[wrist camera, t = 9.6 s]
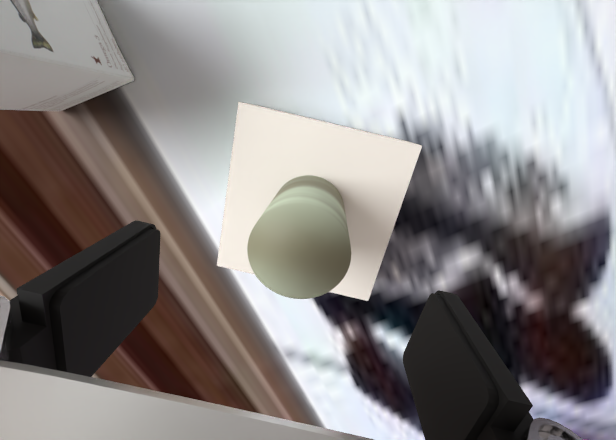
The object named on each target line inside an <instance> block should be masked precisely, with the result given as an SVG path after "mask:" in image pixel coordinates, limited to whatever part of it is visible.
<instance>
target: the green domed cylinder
mask: <svg viewBox="0 0 616 440" xmlns="http://www.w3.org/2000/svg"><path fill="white" fill-rule="evenodd" d="M247 253H248V259H249V263H250V266H251V268H252V270H253V272H254V274H255V275H256V277H257V278H258V279H259V280H260V281H261V282H262V283H263V284H264V285H265V286H266V287H267V288H269V289H270V290H272V291H274V292H275V293H277V294H280V295H282V296H285V297H289V298H295V299H308V298H314V297H318V296H321V295H323V294H325V293H327V292H329V291H331V290H332V289H333V288H335V287H336V286H337V285H338V284H339V283H340V282H341V281H342V279H343V278H344V277H345V275H346V273H347V271H348V269H349V266H350V262H351V245H350V238H349V232H348V226H347V220H346V213H345V207H344V202H343V199H342V196H341V194H340V192H339V191H338V190H337V188H336V187H335V186H334V185H333V184H332V183H330V182H329V181H327V180H326V179H323V178H321V177H318V176H313V175H305V176H299V177H296V178H293V179H291V180H289V181H288V182H287V183H285V184H284V185H283V186H282V187H281V189H280V190H279V191H278V193H277V194H276V196H275V197H274V198H273V200H272V201H271V203H270V204H269V206H268V207H267V208H266V210H265V211H264V213H263V214H262V216H261V217H260V218H259V220H258V221H257V223H256V224H255V226H254V227H253V229H252V231H251V233H250V236H249V240H248V246H247Z"/></svg>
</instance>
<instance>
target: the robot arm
mask: <svg viewBox="0 0 616 440" xmlns="http://www.w3.org/2000/svg"><path fill="white" fill-rule="evenodd" d="M159 254H160V231H159V230H156V227H155V225H153V224H149V223H145V222H140V221H133V222H132V223H130V224H128V225H126V226H125V227H123V228H121V229H119V230H118V231H116V232H114V233H113V234H111V235H109V236H107V237H106V238H104V239H102V240H100V241H99V242H97V243H95V244H93V245H92V246H90V247H88V248H86V249H85V250H83V251H81V252H80V253H78V254H76V255H74V256H73V257H71V258H69V259H67V260H66V261H64V262H62V263H60V264H59V265H57V266H55V267H53V268H52V269H50V270H48V271H46V272H45V273H43V274H41V275H40V276H38V277H36V278H34V279H33V280H31V281H29V282H27V283H26V284H24V285H22V286H20V287H19V288H17V294H18V296H16V297H15V298H13V299H11V300H10V301H9V300H8V299H6V298H5V297H3V296H0V440H373V439H369V438H365V437H360V436H356V435H352V434H347V433H343V432H339V431H334V430H330V429H325V428H321V427H316V426H312V425H308V424H303V423H299V422H294V421H290V420H285V419H281V418H276V417H272V416H267V415H263V414H258V413H254V412H249V411H245V410H240V409H236V408H231V407H227V406H222V405H218V404H213V403H209V402H204V401H200V400H195V399H190V398H186V397H181V396H177V395H172V394H167V393H163V392H158V391H153V390H149V389H144V388H140V387H135V386H130V385H126V384H121V383H117V382H112V381H107V380H103V379H98V378H93V377H91V376H92V375H93V374H94V373H95V372H96V371H97V370H98V368H99V367H100V366H101V365H102V364H103V363H104V362H105V361H106V359H107V358H108V357H109V356H110V355H111V354H112V353H113V352H114V350H115V349H116V348H117V347H118V346H119V345H120V344H121V343H122V341H123V340H124V339H125V338H126V337H127V336H128V335H129V334H130V332H131V331H132V330H133V329H134V328H135V327H136V326H137V325H138V323H139V322H140V321H141V320H142V319H143V318H144V317H145V316H146V314H147V313H148V312H149V311H150V310H151V309H152V308H153V306H154V305H155V303H156V301H157V298H158V279H159ZM403 364H404V367H405V371H406V374H407V378H408V381H409V385H410V388H411V391H412V395H413V398H414V402H415V405H416V409H417V412H418V416H419V419H420V423H421V426H422V430H423V433H424V436H425V440H583V439H581V438H580V437H579V436H577V435H576V434H575V433H573V432H572V431H571V430H569V429H568V428H566V427H564V426H563V425H561V424H559V423H557V422H554V421H552V420H549V419H545V418H537V419H533V418H532V416H531V415H530V413H529V410H530V409H531V408H532V406H533V405H532V404H531V402H530V401H529V399H528V398H527V396H526V395H525V393H524V392H523V390H522V389H521V387H520V386H519V385H518V383H517V382H516V380H515V379H514V377H513V376H512V374H511V373H510V371H509V370H508V368H507V367H506V366H505V364H504V363H503V361H502V360H501V358H500V357H499V355H498V354H497V352H496V351H495V349H494V348H493V347H492V345H491V344H490V342H489V341H488V339H487V338H486V336H485V335H484V333H483V332H482V330H481V329H480V328H479V326H478V325H477V323H476V322H475V320H474V319H473V317H472V316H471V314H470V313H469V311H468V310H467V309H466V307H465V306H464V304H463V303H462V301H461V300H460V298H459V297H458V296H457V295H456V294H452V293H448V292H443V291H437V292H436V293H435V294H433V293H432V294H431V295H430V296H429V298H428V300H427V302H426V304H425V307H424V309H423V311H422V313H421V316H420V318H419V320H418V322H417V324H416V327H415V329H414V331H413V333H412V336H411V338H410V340H409V342H408V344H407V347H406V349H405V351H404V355H403Z"/></svg>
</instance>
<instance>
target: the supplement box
mask: <svg viewBox="0 0 616 440" xmlns="http://www.w3.org/2000/svg"><path fill="white" fill-rule="evenodd" d="M132 81H134V77H133V75H132V73H131V71H130V69H129V67H128V65H127V63H126V61H125V60H124V58H123V56H122V54H121V51H120V49H119V47H118V45H117V43H116V41H115V39H114V37H113V35H112V33H111V30H110V28H109V26H108V24H107V21H106V19H105V17H104V15H103V12H102V10H101V8H100V6H99V4H98V1H97V0H0V110H32V111H62V110H65V109H67V108H70V107H72V106H75V105H77V104H79V103H82V102H84V101H87V100H89V99H92V98H94V97H96V96H99V95H101V94H104V93H106V92H108V91H111V90H113V89H116V88H118V87H120V86H123V85H125V84H127V83H130V82H132Z"/></svg>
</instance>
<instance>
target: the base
mask: <svg viewBox="0 0 616 440" xmlns="http://www.w3.org/2000/svg"><path fill="white" fill-rule="evenodd" d="M421 148H422V146H421V145H418V144H415V143H411V142H408V141H404V140H400V139H396V138H392V137H388V136H383V135H379V134H375V133H371V132H367V131H362V130H358V129H354V128H350V127H346V126H341V125H337V124H333V123H329V122H325V121H321V120H316V119H312V118H308V117H304V116H300V115H295V114H291V113H287V112H283V111H279V110H274V109H270V108H266V107H262V106H258V105H253V104H247V103H241V102H238V110H237V117H236V125H235V133H234V140H233V148H232V155H231V163H230V170H229V178H228V185H227V193H226V201H225V208H224V216H223V223H222V231H221V238H220V246H219V253H218V261H217V266H221V267H225V268H229V269H234V270H238V271H242V272H246V273H251V274H254V272H253V270H252V268H251V266H250V263H249V259H248V253H247V246H248V240H249V236H250V233H251V231H252V229H253V227H254V226H255V224H256V223H257V221H258V220H259V218H260V217H261V216H262V214H263V213H264V211H265V210H266V208H267V207H268V206H269V204H270V203H271V201H272V200H273V198H274V197H275V196H276V194H277V193H278V191H279V190H280V189H281V187H282V186H283V185H284V184H285V183H287V182H288V181H289V180H291V179H293V178H296V177H299V176H305V175H313V176H318V177H321V178H323V179H326V180H327V181H329V182H330V183H332V184H333V185H334V186H335V187H336V188H337V190H338V191H339V192H340V194H341V196H342V199H343V202H344V207H345V213H346V220H347V226H348V232H349V238H350V245H351V262H350V266H349V269H348V271H347V273H346V275H345V277H344V278H343V279H342V281H341V282H340V283H339V284H338V285H337V286H336V287H335V288H333V289H332V290H331V291H329V292H332V293H336V294H341V295H345V296H349V297H353V298H358V299H362V300H366V301H368V300H369V297H370V294H371V291H372V288H373V285H374V283H375V280H376V277H377V274H378V271H379V268H380V265H381V263H382V260H383V257H384V254H385V251H386V248H387V245H388V242H389V240H390V237H391V234H392V231H393V228H394V225H395V222H396V220H397V217H398V214H399V211H400V208H401V205H402V202H403V200H404V197H405V194H406V191H407V188H408V185H409V182H410V179H411V177H412V174H413V171H414V168H415V165H416V162H417V159H418V157H419V154H420V151H421Z"/></svg>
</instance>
